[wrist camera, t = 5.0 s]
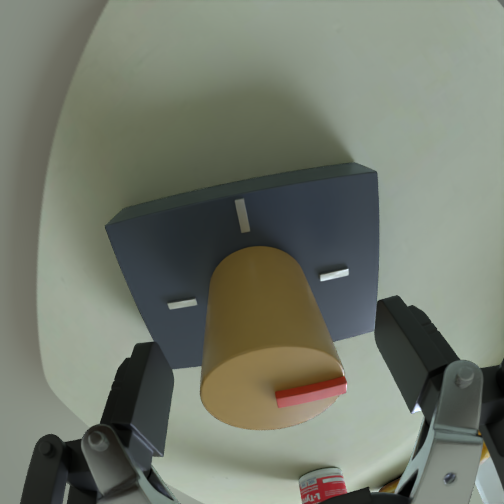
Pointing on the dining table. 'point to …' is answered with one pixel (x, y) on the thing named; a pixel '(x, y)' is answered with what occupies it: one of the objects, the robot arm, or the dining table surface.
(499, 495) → the container
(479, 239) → the dining table surface
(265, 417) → the tan cylinder
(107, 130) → the dining table surface
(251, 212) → the dial base block
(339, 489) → the pill bottle
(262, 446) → the dining table surface
